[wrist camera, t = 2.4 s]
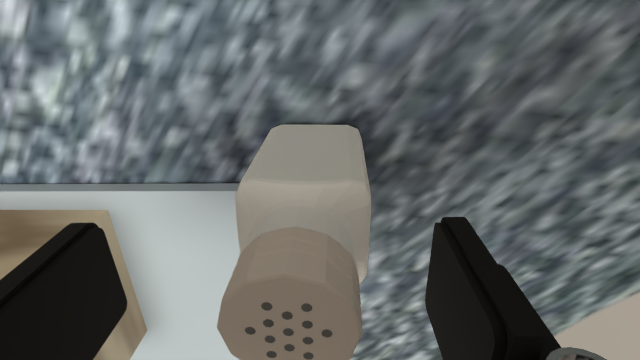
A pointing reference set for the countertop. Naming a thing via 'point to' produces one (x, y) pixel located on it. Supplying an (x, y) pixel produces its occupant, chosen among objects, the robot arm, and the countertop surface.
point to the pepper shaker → (300, 247)
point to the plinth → (41, 225)
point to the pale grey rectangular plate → (161, 254)
